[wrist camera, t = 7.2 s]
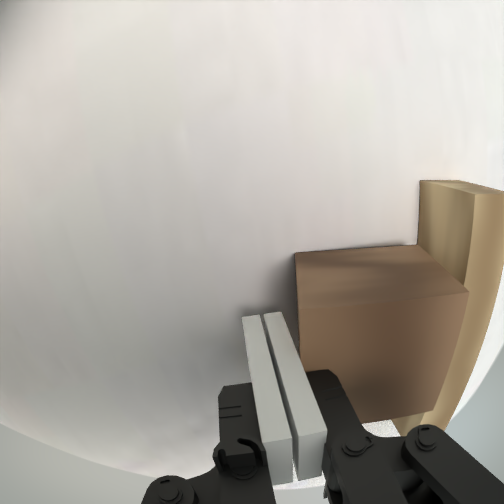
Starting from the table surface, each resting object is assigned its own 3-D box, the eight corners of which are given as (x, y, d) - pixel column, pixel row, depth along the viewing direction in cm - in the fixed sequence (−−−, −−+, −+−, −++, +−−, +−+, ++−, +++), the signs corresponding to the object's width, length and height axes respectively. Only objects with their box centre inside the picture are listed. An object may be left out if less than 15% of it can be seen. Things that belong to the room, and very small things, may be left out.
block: (299, 357, 16) (300, 429, 11) (294, 252, 14) (299, 309, 9) (404, 346, 15) (432, 410, 10) (417, 244, 13) (469, 291, 8)
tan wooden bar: (385, 410, 18) (408, 448, 15) (420, 180, 13) (474, 194, 9) (418, 398, 19) (443, 433, 15) (459, 180, 13) (512, 193, 10)
